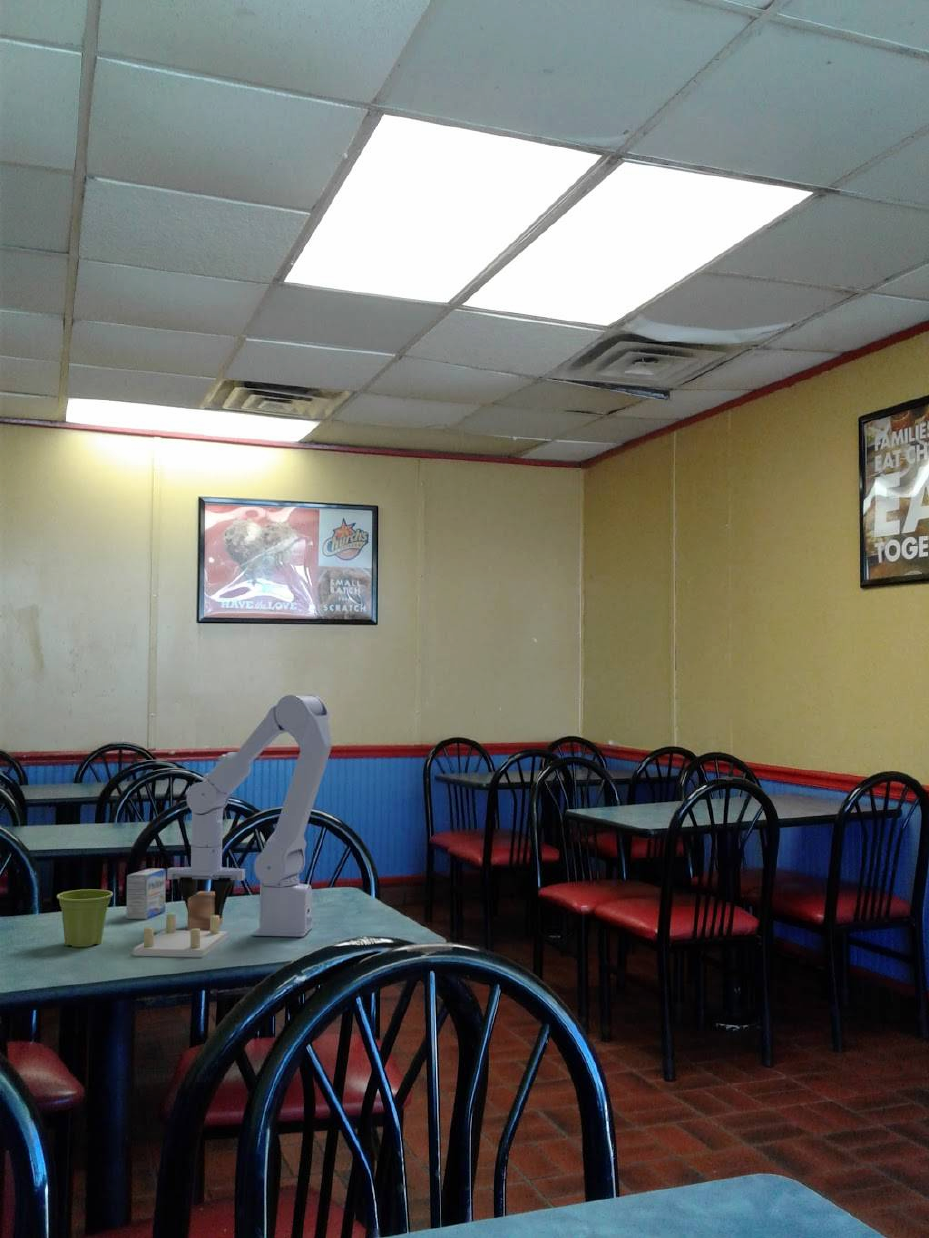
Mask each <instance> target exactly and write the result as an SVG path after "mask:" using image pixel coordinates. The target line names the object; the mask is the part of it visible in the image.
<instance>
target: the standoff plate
mask: <svg viewBox="0 0 929 1238" xmlns="http://www.w3.org/2000/svg"><path fill="white" fill-rule="evenodd" d="M176 917H177V915H176V914H166V915H165V918H166V920H165V921H166V922H165V929H163V930H161V931H159V932H158V933H156V934H155V928H154V927H152V926H151V927H150V926H149V927H144V928H143V941H142V943H140V944H138V945H136V946H135V947H133V956H134V957H138V956H139V957H140V956H141V957H170V958H171V957H173V958H174V957H176V958H177V957H178V958H179V957H180V958H204V957H206V956H207V955H208V954H209V953H210V952H213V950H215V949H216V948H218V946H219V945H221V944H222V943H224V942H225V941H226V940H228V938H229V931H228V930H226V931H225V930H220V925H219V916H218V915H213V916H210V931H200V929H199V928H194V929H191V930H187V929H186V930H185V929H183V930H182V929H176Z"/></svg>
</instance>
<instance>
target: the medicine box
mask: <svg viewBox="0 0 929 1238" xmlns="http://www.w3.org/2000/svg"><path fill="white" fill-rule="evenodd" d="M166 872H167V870H166V869H165V868H155V867H153V868H146V869H142V870H139V871H137V872H133V873H130V874H128V875H127V876H126V919H128V920H130V919H131V920H143V921H146V920H149V919H152V918H154V917H156V916H158V915H160V914H162V913H165V912H166V885H167V884H166V882H167V881H166V880H167V878H166V877H167V873H166Z"/></svg>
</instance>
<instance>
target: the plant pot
mask: <svg viewBox="0 0 929 1238" xmlns="http://www.w3.org/2000/svg"><path fill="white" fill-rule="evenodd" d="M113 896H114V892H112V891H110V890H108V889H107V890H106V889H91V888H90V889H89V888H88V889H87V888H86V889H76V890H67V891H63V892H61V893H58V894H57V895H56V899H58V901H59V907H60V908H61V915H62V916H61V917H62V926H63V936H64V945H65V946H67V947H68V946H72V947H74V948H89V947H92V946H94V945H100V944H101V943H102V942H103V936H104V930H105V929H104V928H105V923H106V917H107V912H108V906H109V904H110V901H111V898H112V897H113Z"/></svg>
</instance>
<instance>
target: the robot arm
mask: <svg viewBox="0 0 929 1238" xmlns="http://www.w3.org/2000/svg"><path fill="white" fill-rule="evenodd" d="M329 718H330V711H329V710H328V708H327V706H326V705H325V703H324V702H323V700H322V699H321V698H320V697H319V696H317V695H314V694H306V695H295V694H288V695H284V696H283V697H280V699H279V700H278V702H277V703H276V705H273V706H272V707H271V708H270V709H269V711H268V712H267V714H266V715H265V717H264V718H263V719H262V720H261V722H260V723H259V724H258V725H257V727H256V728H255V729H254V731H253V732H252V733H251V734H250V736H249V737H247V739H246V740H245V741H244V743H243V744H242V745H241V747H240V748H239V749H238V750H237V751H229V752H227V753H226V754H221V755H220V756H219V757H218V758H217V761H219V762H218V763H217V764H216V765H215V766H214V768H212V770H211V771H210V772H208V773H205V774H204V775H203V776H202V781H201V782H199V781H198V782H194V784H193V783H192V785H191V786H190V788H189V790H188V791H187V792H186V805H187V806H188V807H187V808H189V809H190V810H191V839H190V841H191V843H190V845H191V846H190V847H191V848H190V851H191V853H190V857H191V858H190V866H187V867H186V866H185V867H169V868H167V870H166V872H167V873H166V877H167V878H166V880H178V882H177V888H178V890H179V891H180V893H181V896H182V898H183V900H184V904H185V907H186V911H187V913H188V898H189V897H191V896H193V895H194V894H196V893H198V884H199V880H217V881H215V882H213V888H214V891H215V915H218V916H219V919H220V918H222V913H223V912H224V908H225V905H226V902H227V898H228V896H229V894H230V891H231V889H232V887H233V885H234V883H235V881H237V882H238V881H239V882H240V881H241V882H242V881H245V879H246V869H245V868H235V867H234V868H233V867H223V864H222V863H223V859H222V858H223V817H224V810H225V808H226V806H227V805H228V804H229V800H230V796H231V795H232V794H233V793H234V791H235V790H236V789H237V788H238V787H239V786H240V785H241V783H243V781H244V780H245V779H246V778H247V777H248V776H249V774H251V772H252V766H251V765H252V763H253V762H254V760H256V758H258V756H260V754H262V752H263V751H264V750H266V748H268V746H270V745H271V744H272V742H273V741H275V739H276V738H278V737H279V736H280V735H282V734H287V733H288V734H289V735H290V736H292V738H294V741H295V743H296V744H297V745H298V747H299V749H300V750H299V754H298V758H297V760H296V765H295V767H294V770H293V773H292V777H291V780H290V782H289V786H288V789H287V793H286V795H285V799H284V802H283V805H282V808H281V811H280V814H279V817H278V820H277V824H276V827H275V829H274V831H273V833H271V835H270V836H269V837H268V839H267V841H265V843H264V844H265V845H264V847H263V849H262V851H261V852H260V853H259V854H258V855H257V856H256V858H255V860H254V862H253V863H254V865H253V870H254V873H255V877H256V878H257V880H258V881H259V888H260V889H259V926H258V928H256V929H255V931H253V932H252V936H257V937H258V936H260V937H296V938H298V937H305V936H306V934H307V933H308V932H309V931H311V929H313V889H312V885H311V884H308V883H307V884H305V883H302V882H301V883H300V873H302V872H303V870H304V868H305V865H306V855H305V850H306V848H307V841H306V840H305V836H304V834H305V832H306V828H307V825H308V822H309V819H310V817H311V814H312V813H311V812H312V811H313V807H314V803H315V801H316V798H317V794H318V791H319V788H320V786H321V785H320V784H321V782H322V778H323V777H324V773H325V771H326V770H325V769H326V765H327V763H328V760H329V758H330V757H329V756H330V753H331V750H332V747H333V746H332V737H331V733H330V732H331V731H330V725H329Z"/></svg>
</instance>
